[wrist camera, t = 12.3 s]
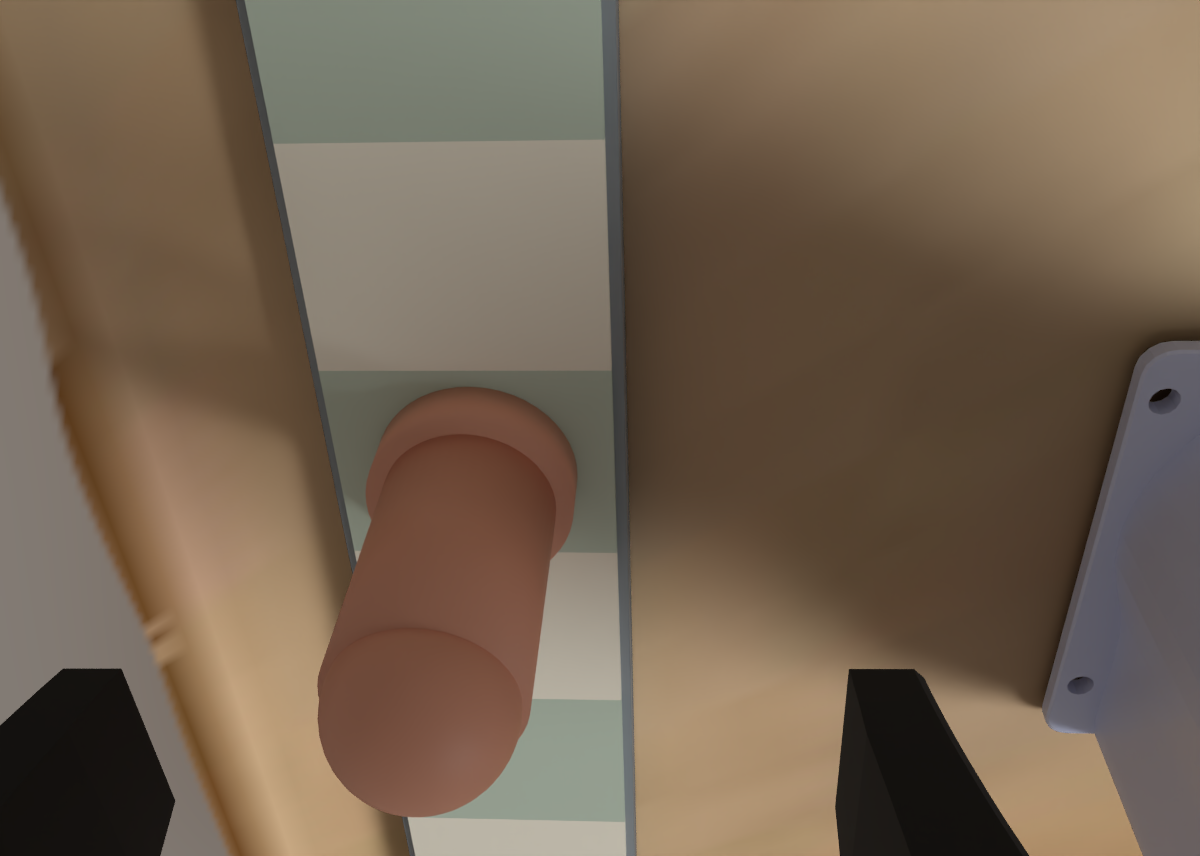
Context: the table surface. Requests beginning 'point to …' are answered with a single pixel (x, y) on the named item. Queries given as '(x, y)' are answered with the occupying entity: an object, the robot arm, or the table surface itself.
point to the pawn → (446, 601)
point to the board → (475, 321)
